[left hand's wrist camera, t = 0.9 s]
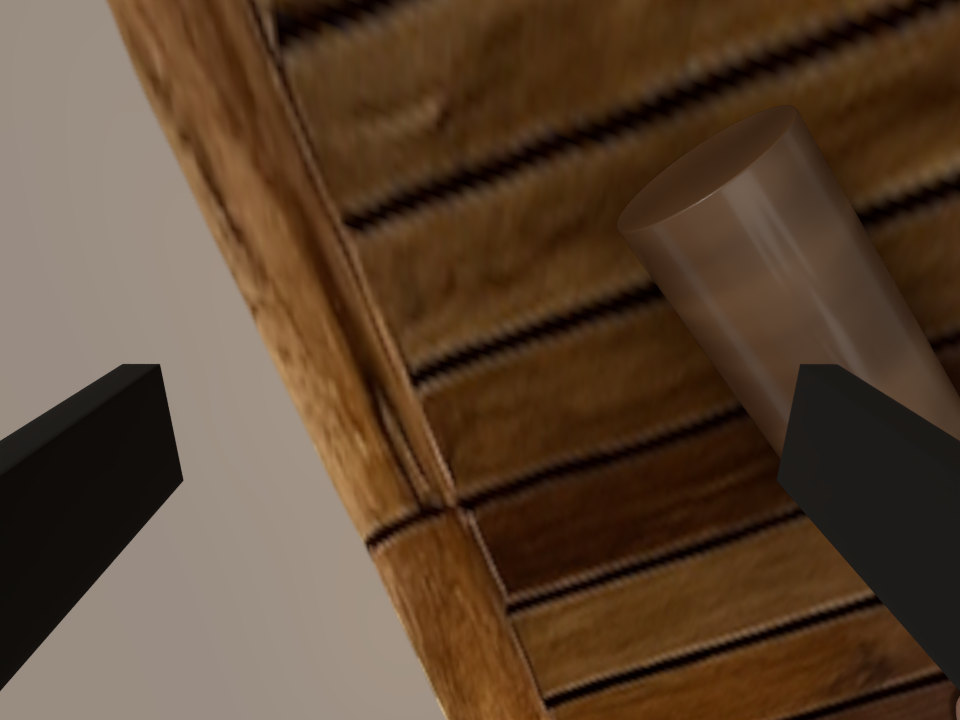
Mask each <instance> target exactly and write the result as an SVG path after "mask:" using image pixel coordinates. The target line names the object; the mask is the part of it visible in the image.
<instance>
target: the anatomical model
mask: <svg viewBox="0 0 960 720" xmlns="http://www.w3.org/2000/svg"><path fill="white" fill-rule="evenodd" d="M956 717H957V720H960V696H959V698H958V700H957V704H956Z"/></svg>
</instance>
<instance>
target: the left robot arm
mask: <svg viewBox="0 0 960 720" xmlns="http://www.w3.org/2000/svg"><path fill="white" fill-rule="evenodd" d="M182 482H183V476H182V471H181V466H180V461H179V456H178V451H177V446H176V441H175V436H174V431H173V426H172V422H171V416H170V412H169V407H168V402H167V397H166V392H165V387H164V382H163V377H162V372H161V367H160V364H122V365H120V366H119V367H117V368H116V369H114V370H112V371H111V372H109V373H108V374H106V375H104V376H103V377H101V378H100V379H98V380H96V381H95V382H93V383H92V384H90V385H88V386H87V387H85V388H84V389H82V390H81V391H79V392H77V393H76V394H74V395H73V396H71V397H69V398H68V399H66V400H65V401H63V402H61V403H60V404H58V405H57V406H55V407H53V408H52V409H50V410H49V411H47V412H45V413H44V414H42V415H41V416H39V417H37V418H36V419H34V420H33V421H31V422H29V423H28V424H26V425H25V426H23V427H22V428H20V429H18V430H17V431H15V432H14V433H12V434H10V435H9V436H7V437H6V438H4V439H2V440H1V441H0V691H1V690H2V688H3V687H4V686H5V685H6V684H7V683H8V681H9V680H10V679H11V678H12V677H13V676H14V675H15V673H16V672H17V671H18V670H19V669H20V668H21V667H22V665H23V664H24V663H25V662H26V661H27V660H28V659H29V657H30V656H31V655H32V654H33V653H34V652H35V651H36V649H37V648H38V647H39V646H40V645H41V644H42V642H43V641H44V640H45V639H46V638H47V637H48V636H49V634H50V633H51V632H52V631H53V630H54V629H55V628H56V626H57V625H58V624H59V623H60V622H61V621H62V619H63V618H64V617H65V616H66V615H67V614H68V613H69V611H70V610H71V609H72V608H73V607H74V606H75V605H76V603H77V602H78V601H79V600H80V599H81V598H82V597H83V595H84V594H85V593H86V592H87V591H88V590H89V588H90V587H91V586H92V585H93V584H94V583H95V581H96V580H97V579H98V578H99V577H100V576H101V575H102V573H103V572H104V571H105V570H106V569H107V568H108V567H109V565H110V564H111V563H112V562H113V561H114V560H115V559H116V557H117V556H118V555H119V554H120V553H121V552H122V551H123V549H124V548H125V547H126V546H127V545H128V544H129V542H130V541H131V540H132V539H133V538H134V537H135V536H136V534H137V533H138V532H139V531H140V530H141V529H142V528H143V526H144V525H145V524H146V523H147V522H148V521H149V520H150V518H151V517H152V516H153V515H154V514H155V513H156V511H157V510H158V509H159V508H160V507H161V506H162V505H163V503H164V502H165V501H166V500H167V499H168V498H169V497H170V495H171V494H172V493H173V492H174V491H175V490H176V488H177V487H178V486H179V485H180V484H181V483H182ZM777 482H778V483H779V484H780V485H781V486H782V487H783V489H784V490H785V491H786V492H787V493H788V494H789V495H790V497H791V498H792V499H793V500H794V501H795V502H796V503H797V505H798V506H799V507H800V508H801V509H802V510H803V511H804V513H805V514H806V515H807V516H808V517H809V518H810V520H811V521H812V522H813V523H814V524H815V525H816V526H817V528H818V529H819V530H820V531H821V532H822V533H823V534H824V536H825V537H826V538H827V539H828V540H829V541H830V543H831V544H832V545H833V546H834V547H835V548H836V549H837V551H838V552H839V553H840V554H841V555H842V556H843V557H844V559H845V560H846V561H847V562H848V563H849V564H850V565H851V567H852V568H853V569H854V570H855V571H856V572H857V574H858V575H859V576H860V577H861V578H862V579H863V580H864V582H865V583H866V584H867V585H868V586H869V587H870V588H871V590H872V591H873V592H874V593H875V594H876V595H877V597H878V598H879V599H880V600H881V601H882V602H883V603H884V605H885V606H886V607H887V608H888V609H889V610H890V611H891V613H892V614H893V615H894V616H895V617H896V618H897V619H898V621H899V622H900V623H901V624H902V625H903V626H904V628H905V629H906V630H907V631H908V632H909V633H910V634H911V636H912V637H913V638H914V639H915V640H916V641H917V642H918V644H919V645H920V646H921V647H922V648H923V649H924V651H925V652H926V653H927V654H928V655H929V656H930V657H931V659H932V660H933V661H934V662H935V663H936V664H937V665H938V667H939V668H940V669H941V670H942V671H943V672H944V673H945V675H946V676H947V677H948V678H949V679H950V680H951V682H952V683H953V684H954V685H955V686H956V687H957V688H958V690H959V691H960V441H959V440H958V439H956V438H954V437H953V436H951V435H950V434H948V433H946V432H945V431H943V430H942V429H940V428H938V427H937V426H935V425H934V424H932V423H931V422H929V421H927V420H926V419H924V418H923V417H921V416H919V415H918V414H916V413H915V412H913V411H911V410H910V409H908V408H907V407H905V406H903V405H902V404H900V403H899V402H897V401H895V400H894V399H892V398H891V397H889V396H887V395H886V394H884V393H883V392H881V391H880V390H878V389H876V388H875V387H873V386H872V385H870V384H868V383H867V382H865V381H864V380H862V379H860V378H859V377H857V376H856V375H854V374H852V373H851V372H849V371H848V370H846V369H844V368H843V367H841V366H840V365H838V364H800V367H799V372H798V377H797V382H796V387H795V392H794V397H793V402H792V407H791V412H790V416H789V421H788V426H787V431H786V436H785V441H784V446H783V451H782V456H781V461H780V466H779V471H778V476H777Z"/></svg>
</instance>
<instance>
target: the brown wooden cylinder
mask: <svg viewBox="0 0 960 720" xmlns="http://www.w3.org/2000/svg"><path fill="white" fill-rule="evenodd" d="M617 229H618V231H619V232H620V234H621V235H622V237H623V238H624V239H625V241H626V242H627V244H628V245H629V246H630V248H631V249H632V251H633V252H634V254H635V255H636V256H637V258H638V259H639V261H640V262H641V263H642V265H643V266H644V268H645V269H646V270H647V272H648V273H649V275H650V276H651V277H652V279H653V280H654V282H655V283H656V285H657V286H658V287H659V289H660V290H661V292H662V293H663V294H664V296H665V297H666V299H667V300H668V301H669V303H670V304H671V306H672V307H673V308H674V310H675V311H676V313H677V314H678V316H679V317H680V318H681V320H682V321H683V323H684V324H685V325H686V327H687V328H688V330H689V331H690V332H691V334H692V335H693V337H694V338H695V339H696V341H697V342H698V344H699V345H700V347H701V348H702V349H703V351H704V352H705V354H706V355H707V356H708V358H709V359H710V361H711V362H712V363H713V365H714V366H715V368H716V369H717V370H718V372H719V373H720V375H721V376H722V378H723V379H724V380H725V382H726V383H727V385H728V386H729V387H730V389H731V390H732V392H733V393H734V394H735V396H736V397H737V399H738V400H739V401H740V403H741V404H742V406H743V407H744V409H745V410H746V411H747V413H748V414H749V416H750V417H751V418H752V420H753V421H754V423H755V424H756V425H757V427H758V428H759V430H760V431H761V432H762V434H763V435H764V437H765V438H766V440H767V441H768V442H769V444H770V445H771V447H772V448H773V449H774V451H775V452H776V454H777V455H778V456H779V458H780V459H781V456H782V451H783V446H784V441H785V436H786V431H787V426H788V421H789V416H790V412H791V407H792V402H793V397H794V392H795V387H796V382H797V377H798V372H799V367H800V364H838V365H840V366H841V367H843V368H844V369H846V370H848V371H849V372H851V373H852V374H854V375H856V376H857V377H859V378H860V379H862V380H864V381H865V382H867V383H868V384H870V385H872V386H873V387H875V388H876V389H878V390H880V391H881V392H883V393H884V394H886V395H887V396H889V397H891V398H892V399H894V400H895V401H897V402H899V403H900V404H902V405H903V406H905V407H907V408H908V409H910V410H911V411H913V412H915V413H916V414H918V415H919V416H921V417H923V418H924V419H926V420H927V421H929V422H931V423H932V424H934V425H935V426H937V427H938V428H940V429H942V430H943V431H945V432H946V433H948V434H950V435H951V436H953V437H954V438H956V439H958V440H959V441H960V397H959V395H958V393H957V392H956V390H955V388H954V386H953V384H952V383H951V381H950V379H949V377H948V376H947V374H946V372H945V370H944V369H943V367H942V365H941V363H940V361H939V360H938V358H937V356H936V354H935V353H934V351H933V349H932V347H931V346H930V344H929V342H928V340H927V338H926V337H925V335H924V333H923V331H922V330H921V328H920V326H919V324H918V323H917V321H916V319H915V317H914V315H913V314H912V312H911V310H910V308H909V307H908V305H907V303H906V301H905V300H904V298H903V296H902V294H901V292H900V291H899V289H898V287H897V285H896V284H895V282H894V280H893V278H892V276H891V275H890V273H889V271H888V269H887V268H886V266H885V264H884V262H883V261H882V259H881V257H880V255H879V253H878V252H877V250H876V248H875V246H874V245H873V243H872V241H871V239H870V238H869V236H868V234H867V232H866V230H865V229H864V227H863V225H862V223H861V222H860V220H859V218H858V216H857V215H856V213H855V211H854V209H853V207H852V206H851V204H850V202H849V200H848V199H847V197H846V195H845V193H844V191H843V190H842V188H841V186H840V184H839V183H838V181H837V179H836V177H835V176H834V174H833V172H832V170H831V168H830V167H829V165H828V163H827V161H826V160H825V158H824V156H823V154H822V153H821V151H820V149H819V147H818V145H817V144H816V142H815V140H814V138H813V137H812V135H811V133H810V131H809V130H808V128H807V126H806V124H805V122H804V121H803V119H802V117H801V115H800V114H799V112H798V110H797V109H796V108H795V107H793V106H790V105H782V106H777V107H773V108H770V109H767V110H764V111H761V112H759V113H756V114H754V115H752V116H749V117H747V118H745V119H743V120H741V121H739V122H737V123H735V124H733V125H731V126H729V127H728V128H726V129H724V130H722V131H721V132H719V133H717V134H715V135H714V136H712V137H711V138H709V139H707V140H706V141H704V142H703V143H701V144H699V145H698V146H696V147H695V148H694V149H692V150H691V151H689V152H688V153H686V154H685V155H683V156H682V157H681V158H679V159H678V160H677V161H675V162H674V163H673V164H671V165H670V166H669V167H667V168H666V169H665V170H664V171H662V172H661V173H660V174H659V175H658V176H656V177H655V178H654V179H653V180H652V181H651V182H649V183H648V184H647V185H646V186H645V187H644V188H643V189H642V190H641V191H640V192H639V193H638V194H637V195H636V196H635V197H634V198H633V199H632V200H631V201H630V203H629V204H628V205H627V206H626V208H625V209H624V210H623V212H622V213H621V215H620V217H619V219H618V221H617Z"/></svg>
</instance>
